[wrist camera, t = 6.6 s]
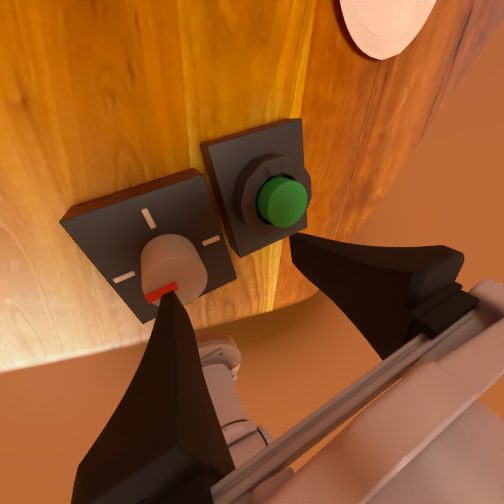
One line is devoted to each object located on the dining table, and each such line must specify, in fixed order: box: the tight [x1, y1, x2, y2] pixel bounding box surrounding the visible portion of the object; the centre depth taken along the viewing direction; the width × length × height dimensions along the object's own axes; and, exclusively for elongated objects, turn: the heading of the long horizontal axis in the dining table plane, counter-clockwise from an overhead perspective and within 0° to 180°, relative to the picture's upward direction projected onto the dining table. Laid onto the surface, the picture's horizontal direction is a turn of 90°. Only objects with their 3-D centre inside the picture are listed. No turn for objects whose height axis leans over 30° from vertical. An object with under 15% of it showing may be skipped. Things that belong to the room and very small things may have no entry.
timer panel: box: [59, 168, 237, 324], centre depth 18 cm, size 10×9×3 cm
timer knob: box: [141, 234, 207, 306], centre depth 15 cm, size 4×4×4 cm
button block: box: [200, 118, 311, 258], centre depth 19 cm, size 10×8×4 cm
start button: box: [257, 177, 307, 228], centre depth 17 cm, size 4×4×2 cm
